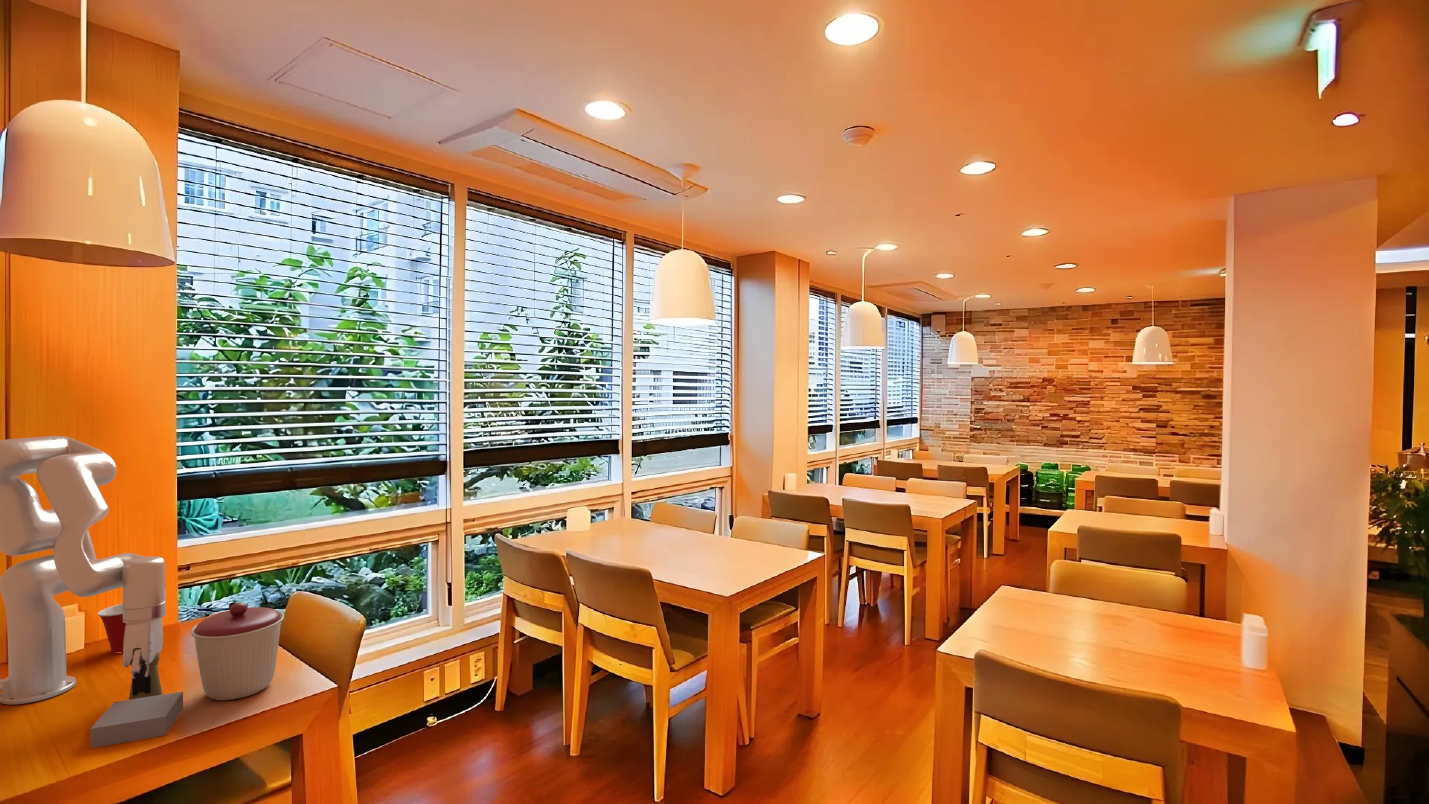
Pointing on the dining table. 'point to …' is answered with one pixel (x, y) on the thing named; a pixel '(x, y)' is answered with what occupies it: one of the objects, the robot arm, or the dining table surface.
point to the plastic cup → (114, 626)
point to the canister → (237, 650)
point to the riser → (137, 719)
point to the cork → (154, 680)
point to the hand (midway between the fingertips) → (145, 688)
